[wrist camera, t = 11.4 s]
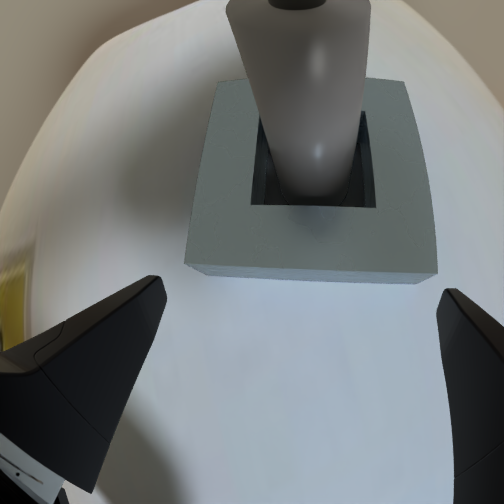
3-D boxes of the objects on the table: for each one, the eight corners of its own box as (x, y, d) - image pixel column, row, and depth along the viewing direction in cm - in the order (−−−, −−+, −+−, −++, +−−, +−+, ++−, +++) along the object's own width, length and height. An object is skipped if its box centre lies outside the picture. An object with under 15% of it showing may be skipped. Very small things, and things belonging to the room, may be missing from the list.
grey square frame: (415, 284, 16) (437, 273, 12) (207, 275, 19) (183, 263, 15) (395, 112, 19) (403, 81, 15) (230, 111, 22) (217, 82, 18)
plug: (311, 228, 18) (283, -19, 4) (266, 180, 19) (179, -35, 5) (362, 185, 18) (402, -44, 4) (315, 142, 19) (290, -69, 5)
